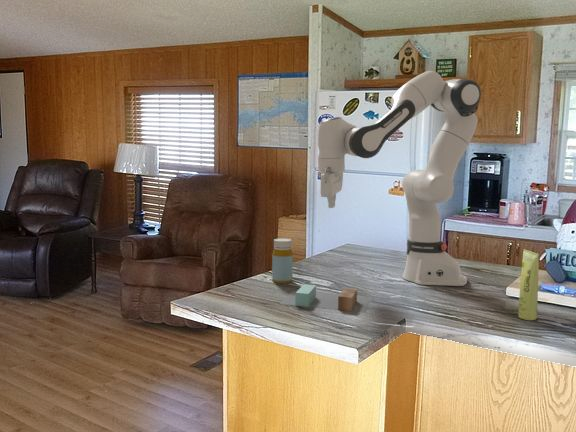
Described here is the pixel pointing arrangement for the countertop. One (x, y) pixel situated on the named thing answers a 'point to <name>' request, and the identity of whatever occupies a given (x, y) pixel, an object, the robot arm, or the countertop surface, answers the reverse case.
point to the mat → (329, 301)
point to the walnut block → (347, 299)
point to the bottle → (282, 261)
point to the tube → (529, 286)
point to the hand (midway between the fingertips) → (331, 207)
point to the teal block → (305, 295)
